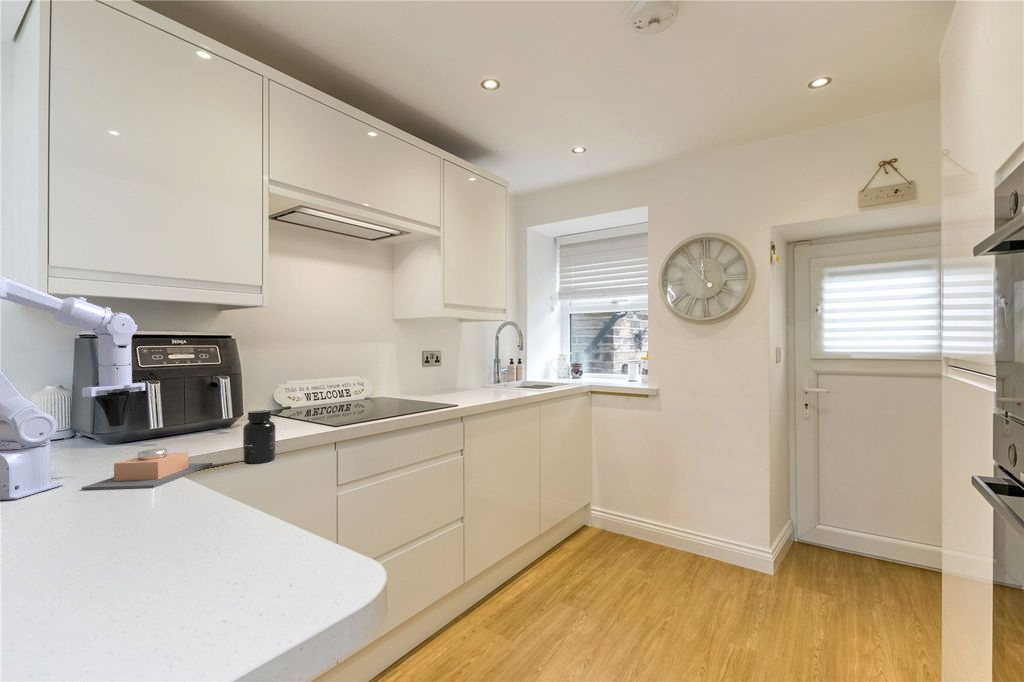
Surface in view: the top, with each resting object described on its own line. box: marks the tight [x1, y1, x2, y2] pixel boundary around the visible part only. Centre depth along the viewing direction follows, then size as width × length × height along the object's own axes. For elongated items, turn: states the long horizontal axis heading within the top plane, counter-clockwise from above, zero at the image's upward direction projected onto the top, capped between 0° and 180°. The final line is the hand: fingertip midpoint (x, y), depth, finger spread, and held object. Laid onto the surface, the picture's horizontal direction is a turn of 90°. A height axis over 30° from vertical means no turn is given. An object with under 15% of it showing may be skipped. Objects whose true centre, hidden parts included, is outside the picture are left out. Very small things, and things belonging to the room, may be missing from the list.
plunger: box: [137, 447, 168, 460], centre depth 99 cm, size 5×5×5 cm
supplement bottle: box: [242, 409, 277, 465], centre depth 111 cm, size 7×7×12 cm
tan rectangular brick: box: [113, 451, 190, 481], centre depth 99 cm, size 9×9×4 cm
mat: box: [81, 462, 214, 491], centre depth 99 cm, size 18×14×1 cm
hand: (116, 425), depth 104 cm, fingers closed
